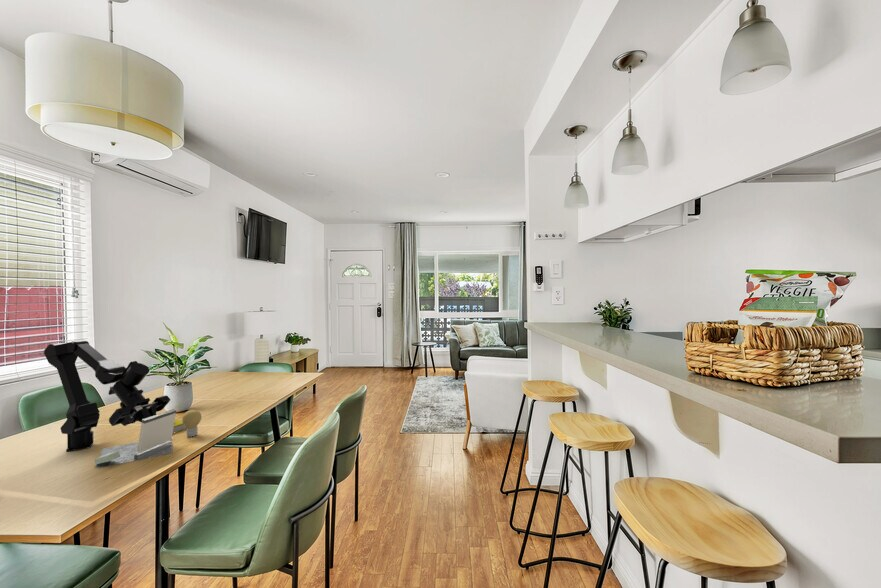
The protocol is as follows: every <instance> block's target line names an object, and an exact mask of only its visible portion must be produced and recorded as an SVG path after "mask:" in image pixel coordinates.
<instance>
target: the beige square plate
mask: <svg viewBox="0 0 881 588" xmlns="http://www.w3.org/2000/svg"><path fill="white" fill-rule="evenodd" d="M176 414H177V409H174V408H173V409H170V410H167V411H164V412H161V413H156V415H154V416H151V417H148V418H145V419H142V422H140V423H141V424H140V431H139V436H138V441H137V442H138V448H137V452H139V453H140V452H143V451H145V450H148V449H150V448H152V447H155V446H157V445H160V444H162V443H165V442H167V441H169V440H171V441H173V440H172V438H173V434H174V433H173V428H174V422H175V420H176Z"/></svg>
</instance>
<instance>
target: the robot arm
mask: <svg viewBox="0 0 881 588" xmlns="http://www.w3.org/2000/svg"><path fill="white" fill-rule="evenodd" d="M43 354H44V356H45V358H46V361H47V362H48V364H50V365H51V366H52V367H54V368H55V369H57V373H58V377H59V378H60V382H61V385H62V388H63V390H64V393H65V396H66V399H67V403H68V408H67V411H66V413H65V414H66V416H65V417H66V421H65V422H64V423H63V424H62V425H61V426H60V431H61V434H63V435H64V434H65V435H67V436H66V437H67V444H66V445H67V446H66V447H67V448H66V452H72V451H77V450H78V451H79V450H83V449H89V448H91V447H92V445H93V444H94V442H95V440H94V439H95V437H94V436H95V435H94V433H95V432H94V431H93V428H97V427H98V423H99V420H100V414H101V413H100V410H99V408H98V404H97V402H96V401H94V402H91V401H90V400H88V397H87V395H86V392H85V388H84V386H83V384H82V380H81V378H80V375H79V371H78V368H77V365H76V362H77V360H78V358H79V359H80V360H82V361H83V363H85V364H86V365H87V366H88V367H90V368H91V369H92V370H93V371H94V373H95V374H94V375H95V378H96V379H97V380H98V382H100V384H102V385H103V386H104V385H110V384H113V385H112V386H109V390H108V396H109V395H116V397H117V398H118V400H119V401H120V402H119V406H120V407H119V408H116V409H115V411H114V412H113V413H112V414H111V415H110V417H109V418H108V423H109V424H110V425H111V426H112V427H115V426H117V425H122V426H124V427H126V426H128V425H130V424H131V425H132V424H135V423H137V422H140V423H141V422H142V419H145V418H148V417H151V416H154V415H157V412H158V413H159V412H161V411H163V410H164V409H165V408H166V406H167V405H168V404H169V403H170V402H171V398H170V397H169V396H168V395H162V396H157V397H156V398H155V399H154V400H153V401H152V402H151V403H149V402H150V401H151V399H150V398H149V397H147V398H145V396H144V395H143V393H144V390H143V389H138V388H137V386H139V385H140V384H141V383H142V381H143V380H144V379H145V378H146V376H147V375H148V374H149V373H150V368H149V367H148V365H146V364H144V363H140V362H138V361H136V360H134V361H130V362H129V363H128V365H127V367H125V366H124V365H123V364H121V363H119V362H115V361H111V360H109V359H107V358H106V357H105V356H104V355H103V354H101V353H100V352H99V351H98V350H96V349H95V348H94V347H93V346H91V344H90V342H89V341H88V340H85V339H81V340H80V339H79V340H72V341H68V342H67V341H66V342H59V343H58V342H57V343H50V344H48V345H47V346H46V347H45V349H44V350H43Z"/></svg>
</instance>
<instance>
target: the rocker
mask: <svg viewBox="0 0 881 588" xmlns="http://www.w3.org/2000/svg"><path fill="white" fill-rule="evenodd" d="M118 457H120V454H119V451H118V452H113V453H109V454H106V455H103V456H101V457H99V456H98V457H96V458H94V459H93V460H94V463H95V464H94V465H97V464H100V463H104V462H108V461H111V460H113V459H115V458H118Z"/></svg>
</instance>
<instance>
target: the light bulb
mask: <svg viewBox="0 0 881 588" xmlns="http://www.w3.org/2000/svg"><path fill="white" fill-rule="evenodd" d="M181 420H182V422H183V424H184V425H185V426H186V427H187V429H185V430H186V432H185V433H186V436H187V437H189V438H192V436H193V437H196V436H197V435H198V434H199V432H198V425H199V424H200V423H201V420H202V413H201V412H200V411H199V410H198V409H197V410H196V409H190V410H188V411H186V412H184V414H183V415H182V417H181ZM195 435H196V436H195Z"/></svg>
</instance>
